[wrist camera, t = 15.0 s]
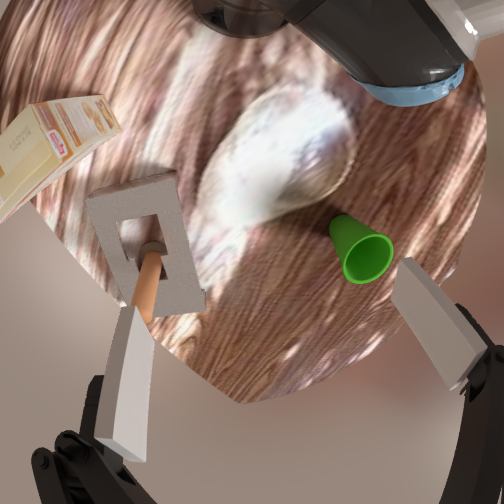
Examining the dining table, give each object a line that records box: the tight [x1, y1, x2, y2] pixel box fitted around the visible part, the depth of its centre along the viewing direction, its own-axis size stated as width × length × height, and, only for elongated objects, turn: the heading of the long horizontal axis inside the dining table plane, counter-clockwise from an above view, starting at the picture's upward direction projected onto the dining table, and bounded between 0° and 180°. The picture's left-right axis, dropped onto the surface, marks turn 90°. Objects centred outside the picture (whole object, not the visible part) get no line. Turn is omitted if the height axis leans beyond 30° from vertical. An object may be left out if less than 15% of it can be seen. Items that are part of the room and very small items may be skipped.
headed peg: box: [130, 241, 168, 324], centre depth 40 cm, size 5×5×15 cm
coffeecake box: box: [0, 94, 122, 224], centre depth 26 cm, size 15×7×20 cm, turn 113°
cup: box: [329, 215, 393, 284], centre depth 44 cm, size 9×9×11 cm
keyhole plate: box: [85, 171, 207, 318], centre depth 44 cm, size 24×14×4 cm, turn 6°
